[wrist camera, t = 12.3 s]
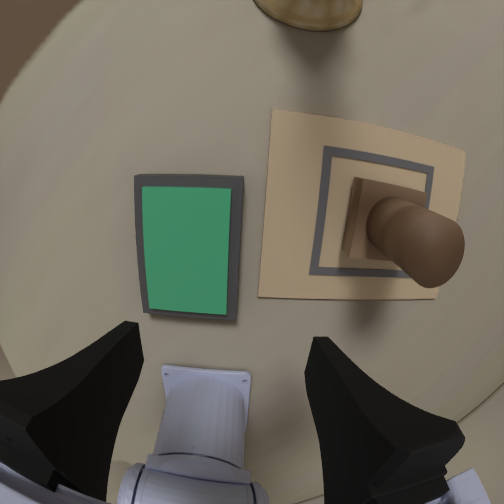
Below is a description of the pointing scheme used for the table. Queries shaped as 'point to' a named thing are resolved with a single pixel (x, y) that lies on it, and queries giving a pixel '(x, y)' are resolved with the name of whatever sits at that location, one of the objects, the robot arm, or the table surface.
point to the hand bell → (313, 12)
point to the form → (342, 204)
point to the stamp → (402, 232)
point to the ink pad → (188, 243)
